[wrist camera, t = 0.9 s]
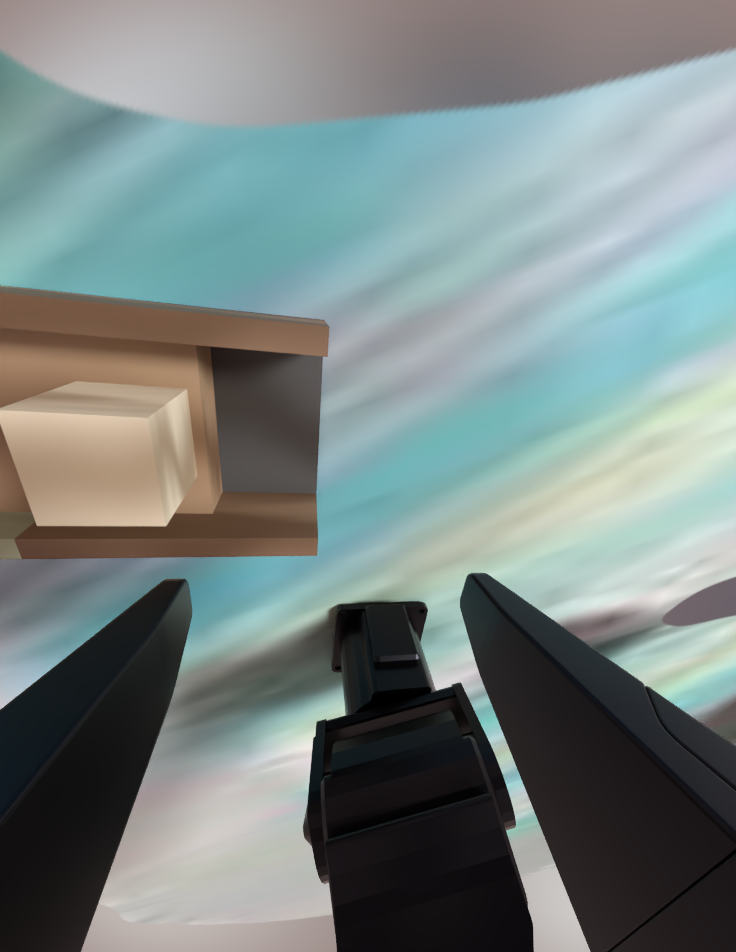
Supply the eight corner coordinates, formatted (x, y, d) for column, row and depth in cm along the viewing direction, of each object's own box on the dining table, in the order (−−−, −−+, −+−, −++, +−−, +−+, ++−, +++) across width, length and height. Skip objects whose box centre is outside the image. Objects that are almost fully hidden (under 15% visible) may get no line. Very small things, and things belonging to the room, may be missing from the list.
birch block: (197, 476, 16) (166, 526, 13) (99, 473, 15) (37, 525, 12) (187, 388, 14) (147, 417, 11) (76, 381, 14) (-6, 409, 10)
